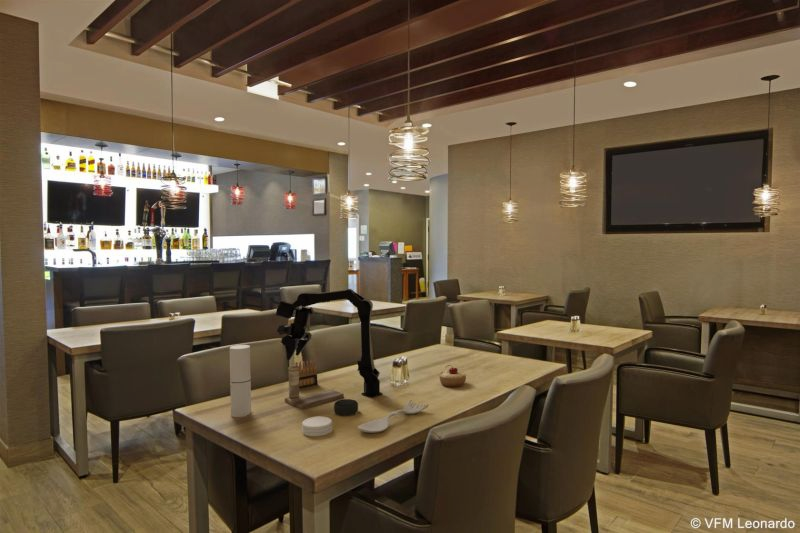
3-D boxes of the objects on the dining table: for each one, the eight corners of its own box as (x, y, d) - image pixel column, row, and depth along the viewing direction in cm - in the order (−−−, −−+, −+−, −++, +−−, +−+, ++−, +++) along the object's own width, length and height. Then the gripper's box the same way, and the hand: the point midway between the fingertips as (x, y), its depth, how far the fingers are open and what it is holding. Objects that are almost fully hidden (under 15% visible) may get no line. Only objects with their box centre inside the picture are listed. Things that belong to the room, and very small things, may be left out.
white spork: (429, 412, 178) (429, 403, 178) (372, 439, 153) (372, 429, 153) (410, 407, 183) (410, 398, 183) (352, 433, 158) (352, 423, 158)
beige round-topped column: (303, 401, 190) (303, 367, 189) (290, 404, 186) (290, 370, 185) (297, 398, 193) (297, 365, 193) (284, 401, 189) (284, 367, 188)
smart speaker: (348, 418, 171) (348, 407, 171) (329, 414, 176) (329, 403, 176) (362, 411, 179) (362, 400, 179) (343, 407, 184) (343, 397, 183)
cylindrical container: (239, 418, 172) (238, 349, 171) (226, 414, 175) (225, 347, 174) (255, 412, 178) (254, 346, 177) (242, 409, 182) (241, 344, 180)
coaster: (333, 425, 165) (333, 415, 165) (330, 437, 155) (330, 426, 155) (304, 426, 165) (304, 416, 164) (299, 437, 155) (299, 427, 155)
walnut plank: (343, 397, 194) (343, 393, 194) (302, 410, 180) (302, 405, 180) (332, 393, 200) (332, 389, 200) (291, 405, 186) (291, 400, 186)
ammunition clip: (295, 390, 206) (295, 362, 205) (293, 389, 207) (293, 361, 207) (317, 385, 213) (317, 358, 212) (315, 384, 214) (315, 358, 214)
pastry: (467, 389, 207) (467, 369, 206) (440, 388, 207) (440, 368, 207) (464, 380, 219) (464, 361, 218) (438, 380, 219) (438, 361, 219)
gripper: (291, 314, 210) (284, 348, 211) (273, 319, 192) (265, 357, 192) (315, 320, 208) (307, 355, 209) (298, 326, 190) (290, 364, 191)
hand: (292, 357), depth 200 cm, fingers open, 9 cm apart
